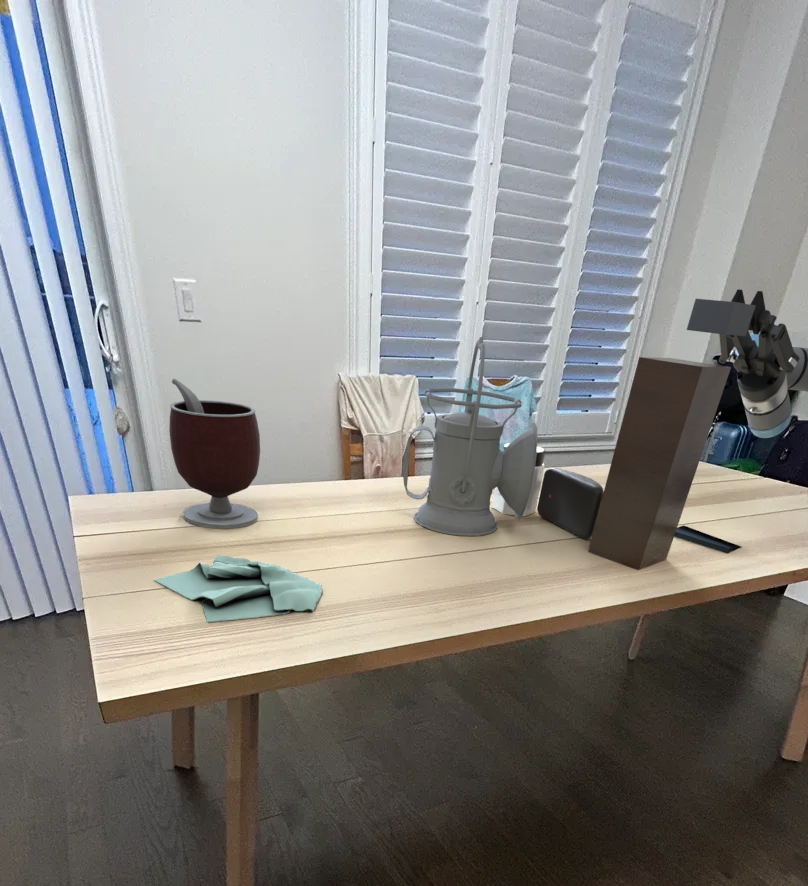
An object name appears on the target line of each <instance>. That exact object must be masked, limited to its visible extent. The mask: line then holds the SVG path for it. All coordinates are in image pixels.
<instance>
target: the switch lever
mask: <svg viewBox="0 0 808 886" xmlns="http://www.w3.org/2000/svg"><path fill="white" fill-rule="evenodd" d="M755 307H756V306H755V305H750V303H745V304H743V303H737V302H731V301H729V300H728V301H727V300H715V299H707V298H706V299H704V298H695V300H694V302H693V306H692V308H691V309H692V310H691V313H690V317H689V319H688V323H687V327H686V331H692V332H700V333H708V334H717V335H719V334H724V335H736V336H746V333H747V330H748V331H752V332H753V329H752V324H751V318H752V315H753V312H754V310H755Z"/></svg>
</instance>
